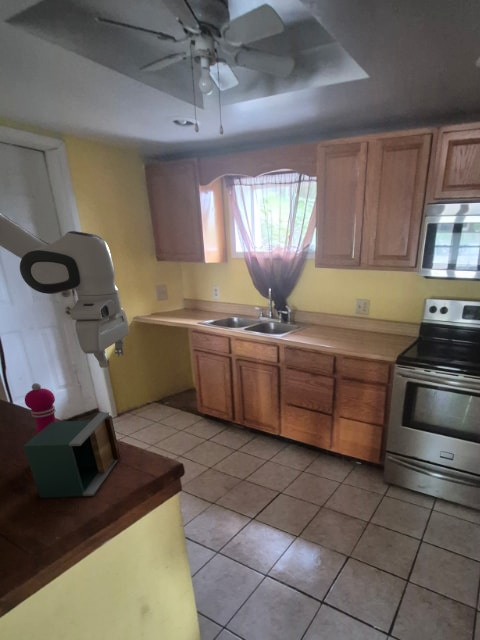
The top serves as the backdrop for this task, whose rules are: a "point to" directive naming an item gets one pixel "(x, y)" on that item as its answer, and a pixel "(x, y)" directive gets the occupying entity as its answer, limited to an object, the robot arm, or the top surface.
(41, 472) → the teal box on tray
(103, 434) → the sliding door
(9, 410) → the top surface
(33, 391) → the pepper mill
